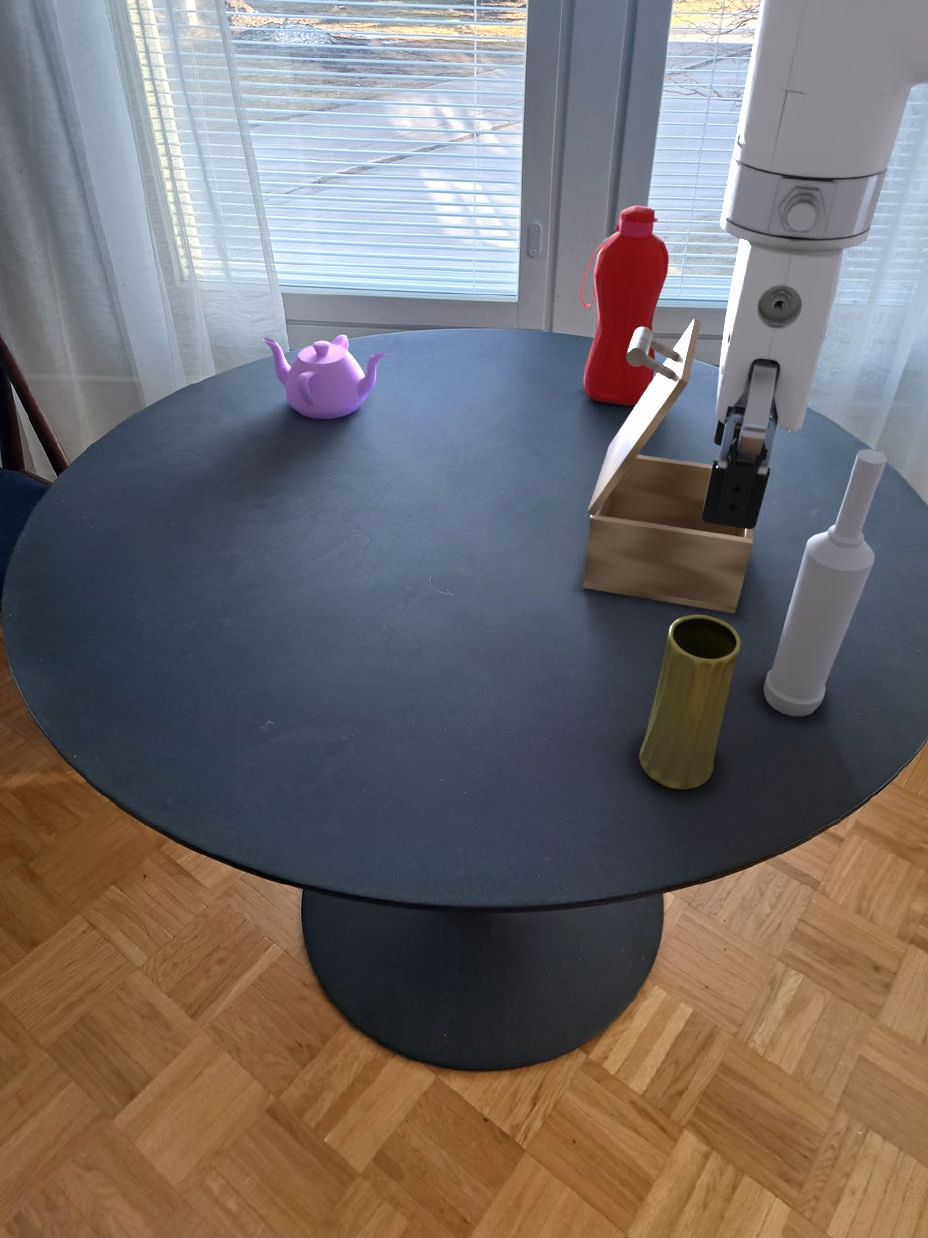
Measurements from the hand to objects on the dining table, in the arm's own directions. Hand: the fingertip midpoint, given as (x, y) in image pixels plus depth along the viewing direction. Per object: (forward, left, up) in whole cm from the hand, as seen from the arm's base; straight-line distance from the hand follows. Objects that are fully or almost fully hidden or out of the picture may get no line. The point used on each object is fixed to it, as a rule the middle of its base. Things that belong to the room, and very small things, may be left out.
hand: (732, 482), depth 56 cm
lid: (+8, -28, -11) cm, 30 cm away
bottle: (-10, -10, -27) cm, 31 cm away
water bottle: (+16, -67, -27) cm, 74 cm away
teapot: (+54, -53, -27) cm, 80 cm away
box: (+4, -28, -27) cm, 39 cm away
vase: (0, 0, -27) cm, 27 cm away
